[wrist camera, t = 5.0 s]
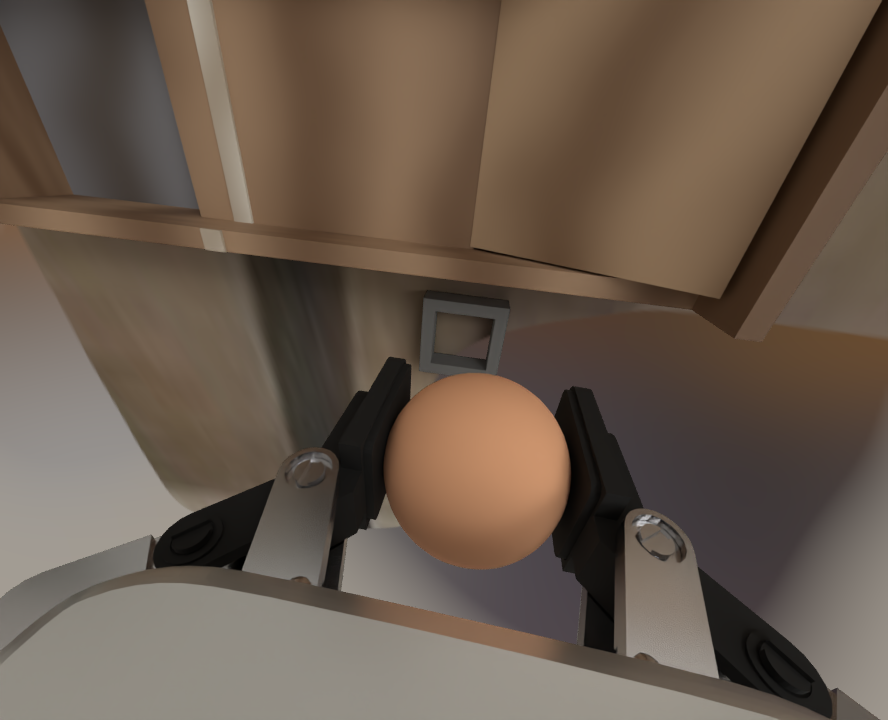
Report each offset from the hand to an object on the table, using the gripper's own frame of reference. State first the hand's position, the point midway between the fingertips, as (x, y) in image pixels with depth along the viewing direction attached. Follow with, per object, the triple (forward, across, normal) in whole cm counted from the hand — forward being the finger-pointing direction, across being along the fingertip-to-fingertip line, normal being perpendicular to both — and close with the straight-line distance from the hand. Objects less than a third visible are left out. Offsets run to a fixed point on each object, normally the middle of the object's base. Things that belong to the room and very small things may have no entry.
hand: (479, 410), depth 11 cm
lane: (+8, +7, -8) cm, 13 cm away
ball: (-2, 0, 0) cm, 2 cm away
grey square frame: (+7, +1, +1) cm, 8 cm away
